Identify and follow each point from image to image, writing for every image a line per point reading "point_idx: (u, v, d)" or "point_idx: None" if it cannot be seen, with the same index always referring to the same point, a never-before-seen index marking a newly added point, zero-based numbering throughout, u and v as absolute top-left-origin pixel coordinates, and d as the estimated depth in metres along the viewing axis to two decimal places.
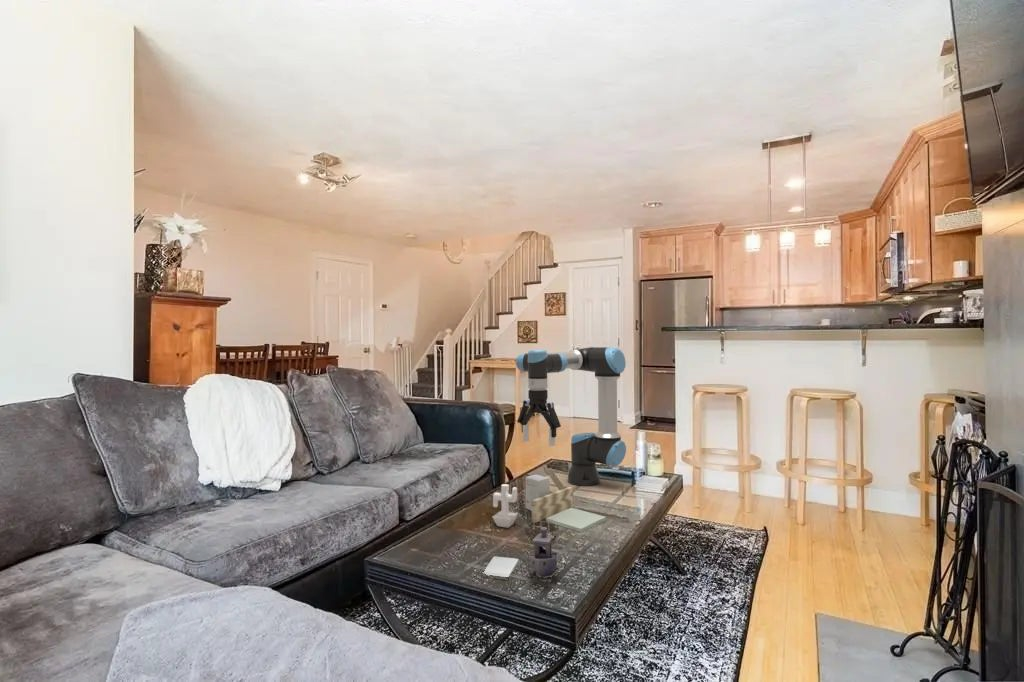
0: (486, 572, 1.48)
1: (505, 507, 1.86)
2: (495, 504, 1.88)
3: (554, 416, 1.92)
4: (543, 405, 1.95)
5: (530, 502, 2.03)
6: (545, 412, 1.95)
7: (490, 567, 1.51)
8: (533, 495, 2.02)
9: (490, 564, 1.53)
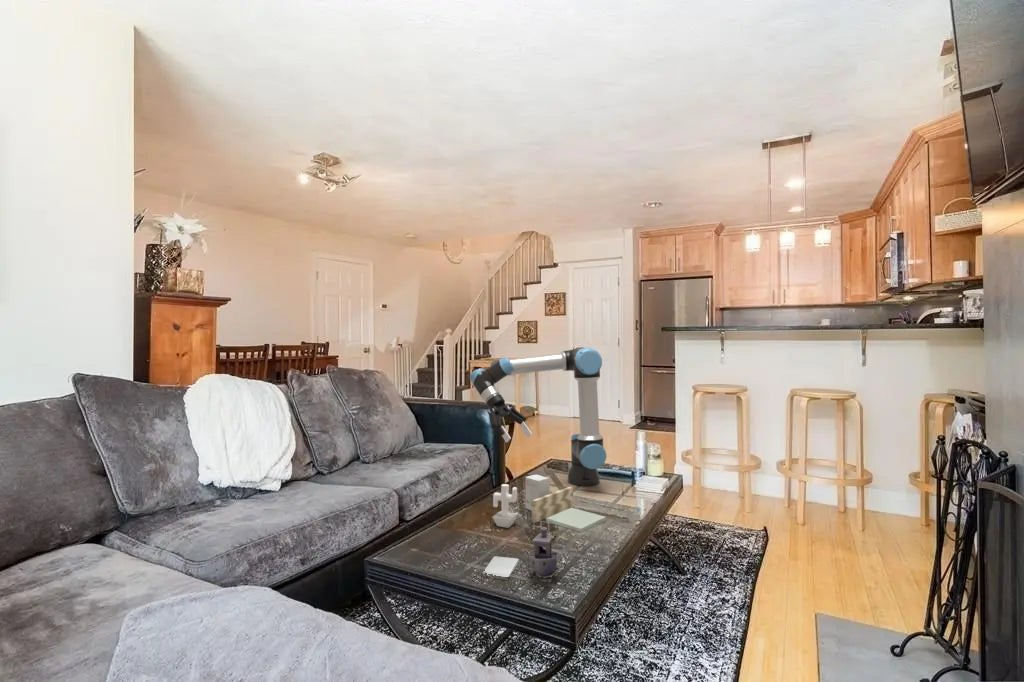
0: (486, 572, 1.48)
1: (505, 507, 1.86)
2: (495, 504, 1.88)
3: (491, 419, 2.10)
4: None
5: (530, 502, 2.03)
6: (496, 416, 2.14)
7: (490, 567, 1.51)
8: (533, 495, 2.02)
9: (490, 564, 1.53)
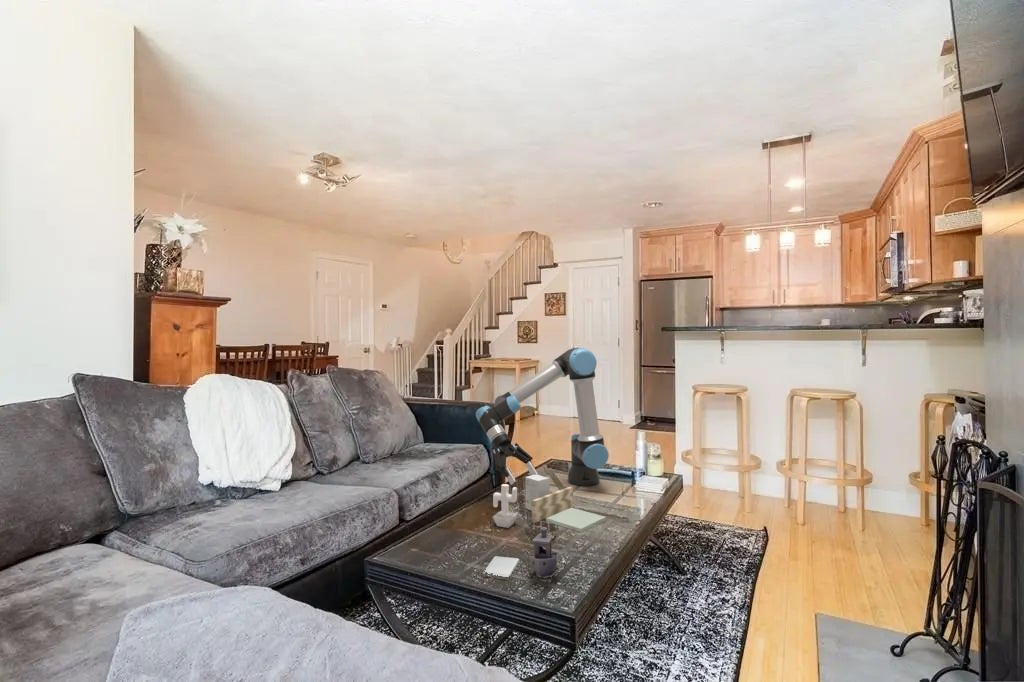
0: None
1: (505, 507, 1.86)
2: (495, 504, 1.88)
3: (495, 460, 2.07)
4: None
5: (530, 502, 2.03)
6: (502, 456, 2.11)
7: (490, 567, 1.51)
8: (533, 495, 2.02)
9: (491, 564, 1.53)
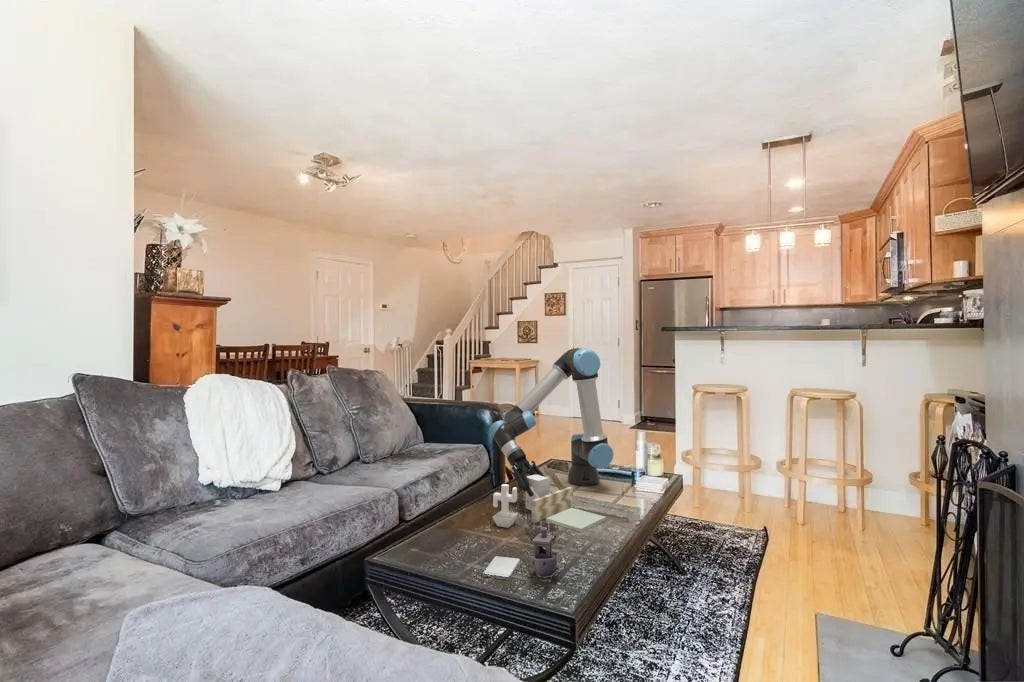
0: (487, 572, 1.48)
1: (505, 507, 1.86)
2: (495, 504, 1.88)
3: (517, 479, 2.03)
4: None
5: (530, 502, 2.03)
6: (520, 474, 2.06)
7: (491, 567, 1.51)
8: None
9: (491, 564, 1.53)
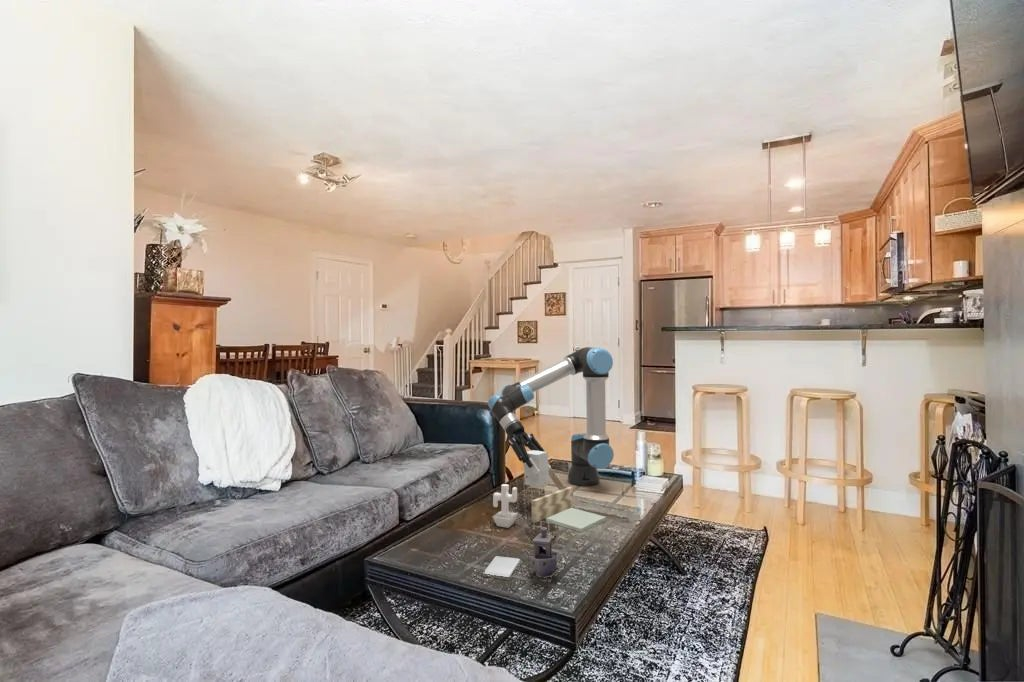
0: (487, 572, 1.48)
1: (505, 507, 1.86)
2: (495, 504, 1.88)
3: (516, 451, 2.03)
4: None
5: (530, 477, 2.02)
6: (519, 446, 2.06)
7: (491, 567, 1.51)
8: None
9: (491, 564, 1.53)
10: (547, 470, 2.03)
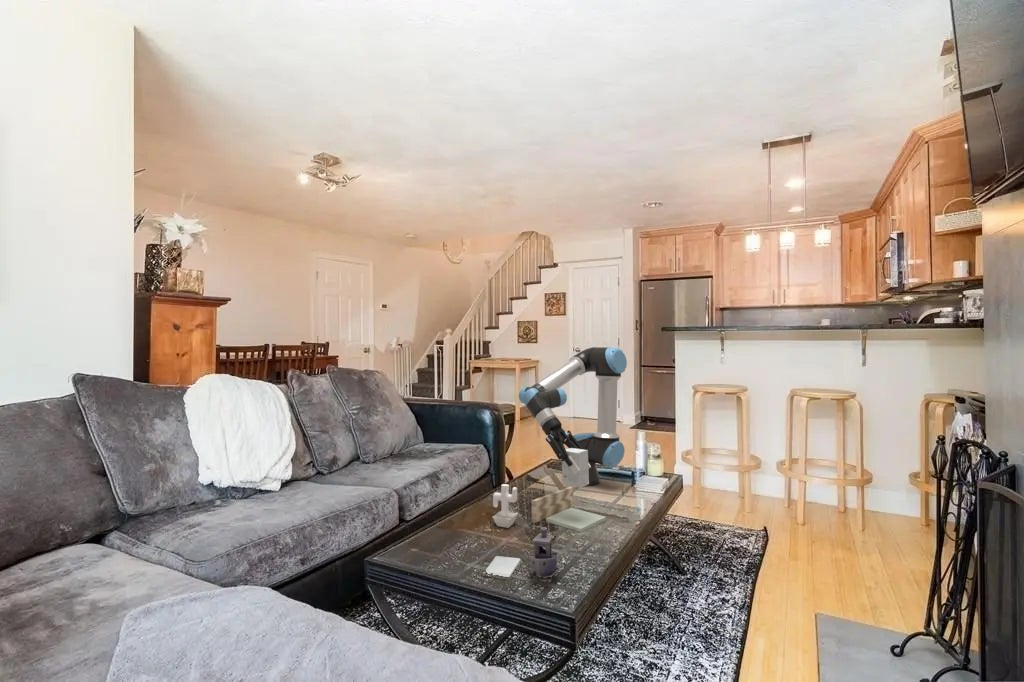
0: (487, 572, 1.48)
1: (505, 507, 1.86)
2: (495, 504, 1.88)
3: (554, 448, 1.90)
4: None
5: (568, 477, 1.90)
6: (557, 443, 1.93)
7: (491, 567, 1.51)
8: None
9: (492, 564, 1.53)
10: (587, 470, 1.90)
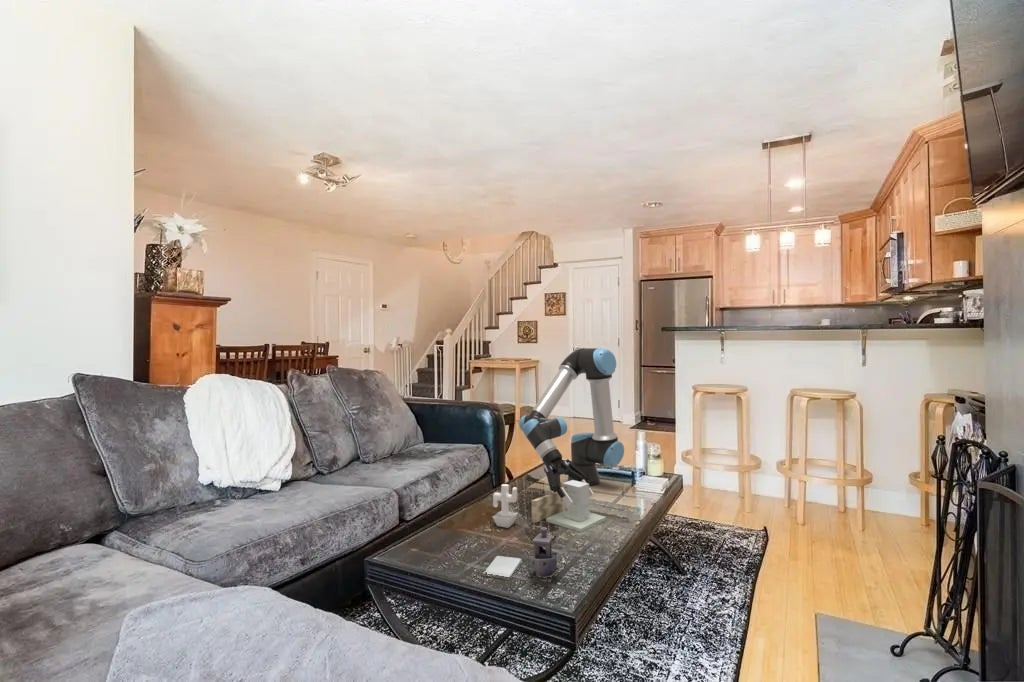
0: (488, 571, 1.48)
1: (505, 507, 1.86)
2: (495, 504, 1.88)
3: (549, 479, 1.90)
4: None
5: (569, 510, 1.90)
6: (554, 474, 1.93)
7: (492, 566, 1.51)
8: (573, 503, 1.89)
9: (492, 563, 1.53)
10: (588, 503, 1.90)
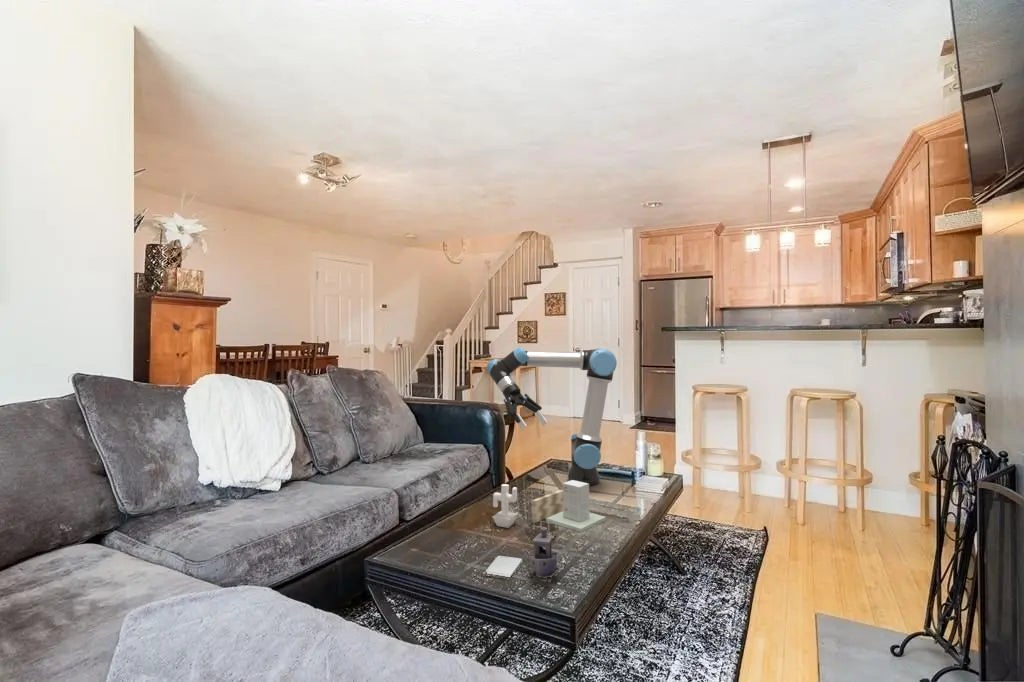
0: (488, 571, 1.48)
1: (505, 507, 1.86)
2: (495, 504, 1.88)
3: (507, 407, 2.16)
4: None
5: (569, 510, 1.90)
6: (513, 404, 2.20)
7: (493, 566, 1.51)
8: (573, 503, 1.89)
9: (493, 563, 1.53)
10: (588, 503, 1.90)
